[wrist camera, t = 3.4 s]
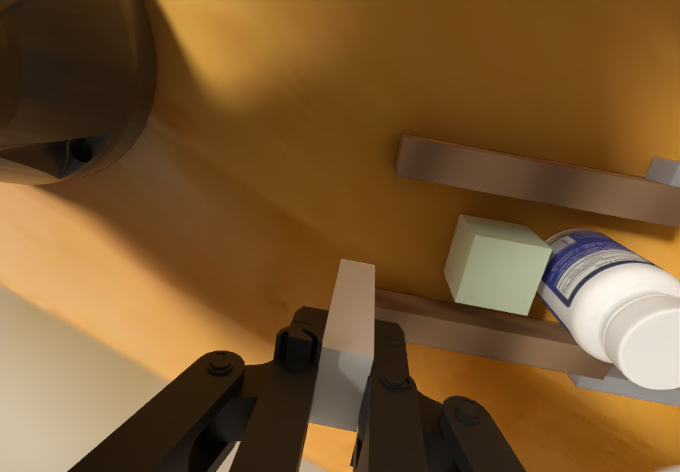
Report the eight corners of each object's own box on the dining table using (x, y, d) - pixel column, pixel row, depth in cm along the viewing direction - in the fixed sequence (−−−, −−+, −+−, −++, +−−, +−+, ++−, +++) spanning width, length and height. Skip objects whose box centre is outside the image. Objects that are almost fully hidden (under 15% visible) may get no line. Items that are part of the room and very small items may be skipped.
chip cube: (443, 271, 26) (454, 302, 22) (459, 213, 24) (475, 235, 20) (504, 283, 26) (527, 315, 22) (524, 225, 24) (552, 249, 20)
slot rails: (362, 312, 27) (361, 333, 25) (401, 133, 23) (404, 138, 21) (582, 355, 27) (603, 380, 24) (662, 181, 23) (695, 190, 20)
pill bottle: (619, 294, 25) (741, 393, 17) (532, 311, 26) (607, 413, 18) (613, 216, 23) (744, 282, 15) (521, 236, 24) (597, 310, 16)
